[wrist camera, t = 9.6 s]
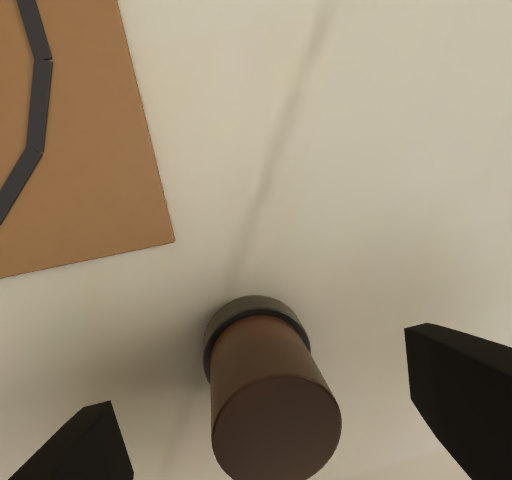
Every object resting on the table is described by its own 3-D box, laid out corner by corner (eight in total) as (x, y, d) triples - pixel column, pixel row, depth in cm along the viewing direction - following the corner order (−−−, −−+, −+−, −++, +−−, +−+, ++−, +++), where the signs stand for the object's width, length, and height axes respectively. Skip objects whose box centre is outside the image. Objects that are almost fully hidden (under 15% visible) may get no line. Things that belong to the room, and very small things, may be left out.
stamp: (318, 354, 12) (375, 448, 8) (235, 404, 12) (250, 523, 8) (273, 276, 11) (310, 336, 7) (183, 329, 11) (171, 419, 7)
